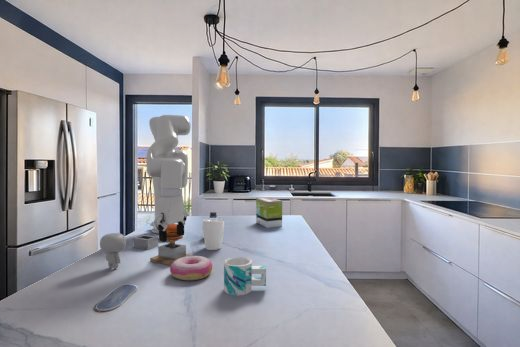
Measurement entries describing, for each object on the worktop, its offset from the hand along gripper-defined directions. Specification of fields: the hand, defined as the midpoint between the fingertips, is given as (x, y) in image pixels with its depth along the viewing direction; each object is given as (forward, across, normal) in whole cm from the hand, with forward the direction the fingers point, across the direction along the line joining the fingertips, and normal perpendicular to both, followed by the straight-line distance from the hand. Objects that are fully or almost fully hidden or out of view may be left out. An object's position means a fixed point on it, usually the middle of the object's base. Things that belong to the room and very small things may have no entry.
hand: (172, 238), depth 120 cm
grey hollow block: (+9, -8, -21) cm, 24 cm away
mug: (+7, +13, +38) cm, 40 cm away
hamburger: (+9, -25, -21) cm, 34 cm away
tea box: (+10, -73, +8) cm, 74 cm away
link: (+7, +1, +1) cm, 7 cm away
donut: (+8, +10, +16) cm, 21 cm away
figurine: (+8, +17, -11) cm, 22 cm away
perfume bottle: (+9, -34, -4) cm, 36 cm away
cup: (+9, -19, +6) cm, 22 cm away
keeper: (+8, +1, +1) cm, 8 cm away
